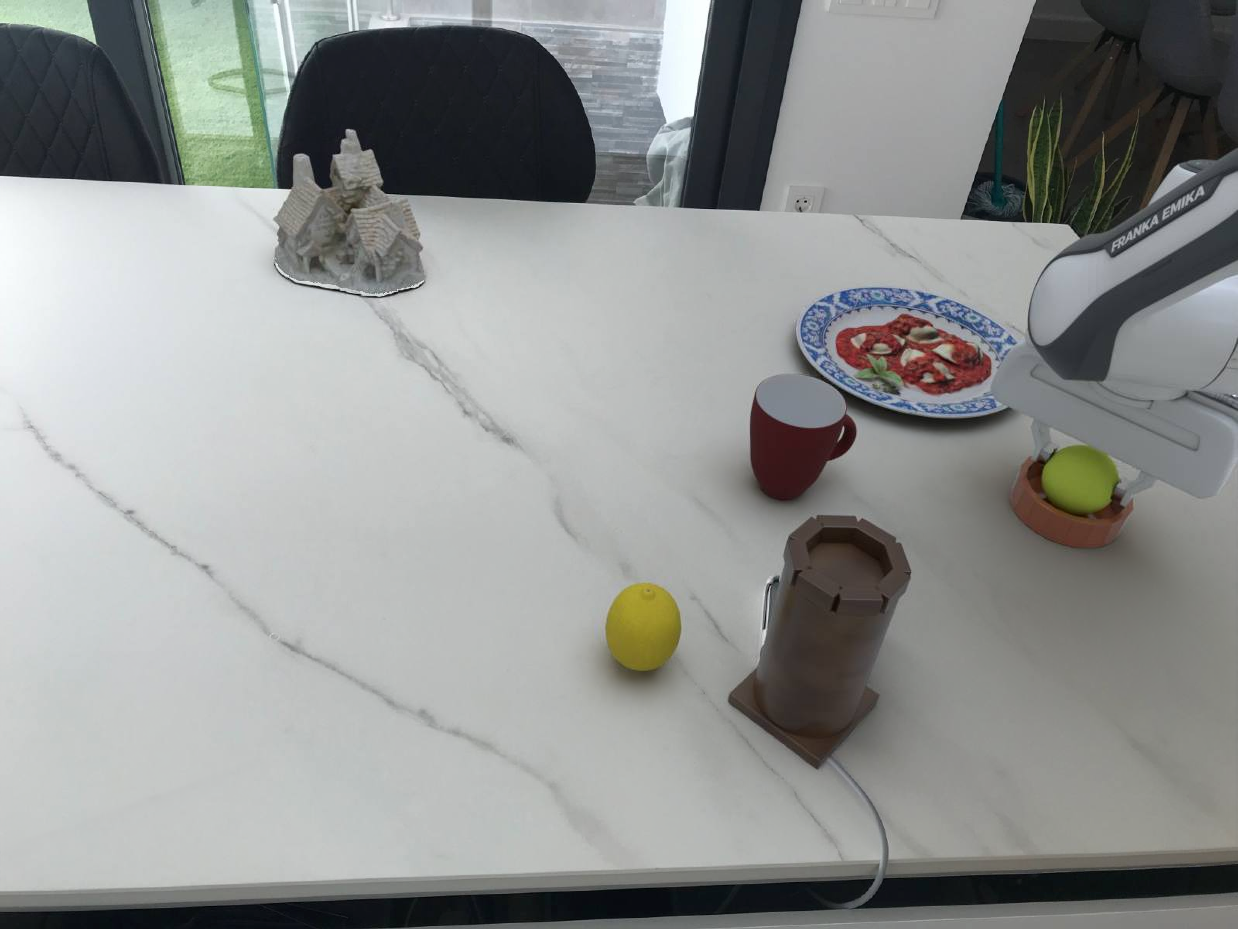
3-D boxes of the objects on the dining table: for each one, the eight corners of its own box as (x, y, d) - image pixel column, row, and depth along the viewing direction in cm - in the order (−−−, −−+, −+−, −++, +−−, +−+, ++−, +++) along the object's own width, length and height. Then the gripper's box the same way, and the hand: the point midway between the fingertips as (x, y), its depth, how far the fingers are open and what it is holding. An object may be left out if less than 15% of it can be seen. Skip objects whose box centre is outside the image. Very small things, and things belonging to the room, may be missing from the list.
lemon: (678, 691, 72) (691, 620, 67) (604, 692, 72) (611, 620, 67) (670, 633, 77) (682, 562, 71) (600, 634, 76) (606, 562, 71)
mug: (812, 444, 96) (834, 360, 90) (862, 495, 91) (889, 410, 84) (721, 470, 92) (737, 384, 86) (767, 525, 87) (788, 437, 80)
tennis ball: (1113, 506, 91) (1141, 454, 87) (1086, 539, 88) (1115, 486, 83) (1048, 474, 94) (1073, 421, 90) (1020, 504, 91) (1044, 451, 86)
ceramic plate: (904, 282, 123) (910, 261, 121) (1075, 389, 107) (1086, 367, 105) (746, 333, 111) (750, 311, 109) (911, 462, 95) (920, 438, 93)
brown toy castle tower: (877, 703, 73) (934, 557, 63) (817, 769, 68) (869, 623, 58) (789, 642, 77) (830, 496, 67) (727, 701, 72) (761, 553, 62)
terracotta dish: (1136, 511, 92) (1150, 488, 90) (1095, 565, 86) (1108, 541, 84) (1036, 461, 97) (1047, 437, 95) (990, 508, 91) (1001, 484, 89)
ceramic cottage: (265, 247, 118) (251, 127, 108) (398, 231, 125) (396, 117, 115) (296, 318, 108) (284, 194, 98) (439, 297, 115) (441, 179, 105)
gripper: (1287, 393, 77) (1207, 521, 86) (1042, 292, 87) (993, 415, 96) (1264, 427, 73) (1183, 556, 82) (1011, 316, 83) (962, 443, 92)
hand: (1079, 480), depth 89 cm, fingers closed on tennis ball, 6 cm apart
